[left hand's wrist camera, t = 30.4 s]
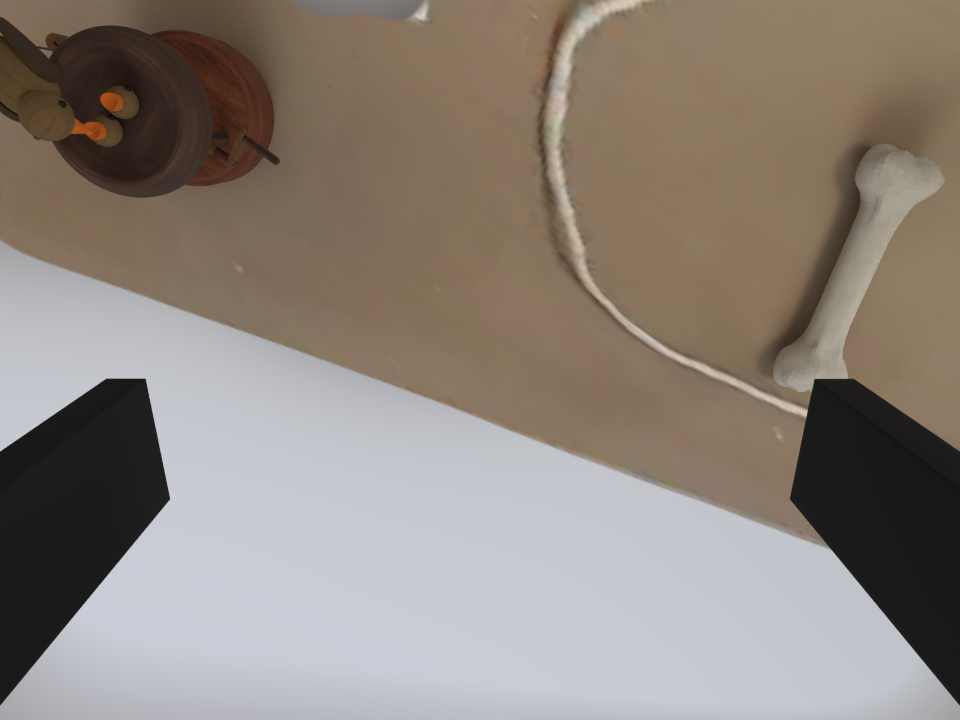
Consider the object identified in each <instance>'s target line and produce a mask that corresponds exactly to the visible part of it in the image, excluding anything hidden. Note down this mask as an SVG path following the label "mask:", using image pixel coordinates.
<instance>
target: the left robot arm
mask: <svg viewBox="0 0 960 720" xmlns="http://www.w3.org/2000/svg"><path fill="white" fill-rule="evenodd" d="M169 500H170V496H169V491H168V486H167V482H166V476H165V472H164V467H163V462H162V457H161V452H160V447H159V442H158V437H157V432H156V428H155V423H154V418H153V413H152V408H151V403H150V398H149V393H148V389H147V383H146V379H105V380H104V381H102V382H101V383H100V384H98V385H97V386H95V387H94V388H92V389H91V390H89V391H88V392H86V393H85V394H84V395H82V396H81V397H79V398H78V399H76V400H75V401H73V402H72V403H70V404H69V405H67V406H66V407H65V408H63V409H62V410H60V411H59V412H57V413H56V414H54V415H53V416H51V417H50V418H48V419H47V420H46V421H44V422H43V423H41V424H40V425H38V426H37V427H35V428H34V429H33V430H31V431H30V432H28V433H27V434H25V435H24V436H22V437H21V438H19V439H18V440H16V441H15V442H13V443H12V444H11V445H9V446H8V447H6V448H5V449H3V450H2V451H0V705H1V704H2V703H3V701H4V700H5V699H6V698H7V697H8V695H9V694H10V693H11V692H12V691H13V689H14V688H15V687H16V686H17V684H18V683H19V682H20V681H21V680H22V678H23V677H24V676H25V675H26V674H27V672H28V671H29V670H30V669H31V667H32V666H33V665H34V664H35V663H36V661H37V660H38V659H39V658H40V656H41V655H42V654H43V653H44V652H45V650H46V649H47V648H48V647H49V646H50V644H51V643H52V642H53V641H54V640H55V638H56V637H57V636H58V635H59V633H60V632H61V631H62V630H63V629H64V627H65V626H66V625H67V624H68V622H69V621H70V620H71V619H72V618H73V616H74V615H75V614H76V613H77V612H78V610H79V609H80V608H81V607H82V605H83V604H84V603H85V602H86V601H87V599H88V598H89V597H90V596H91V595H92V593H93V592H94V591H95V590H96V588H97V587H98V586H99V585H100V584H101V582H102V581H103V580H104V579H105V578H106V576H107V575H108V574H109V573H110V572H111V570H112V569H113V568H114V567H115V565H116V564H117V563H118V562H119V561H120V559H121V558H122V557H123V556H124V555H125V553H126V552H127V551H128V550H129V548H130V547H131V546H132V545H133V544H134V542H135V541H136V540H137V539H138V538H139V536H140V535H141V534H142V533H143V531H144V530H145V529H146V528H147V527H148V525H149V524H150V523H151V522H152V521H153V519H154V518H155V517H156V516H157V514H158V513H159V512H160V511H161V510H162V508H163V507H164V506H165V505H166V504H167V502H168V501H169ZM790 500H791V501H792V502H793V504H794V505H795V506H796V507H797V508H798V510H799V511H800V512H801V513H802V514H803V516H804V517H805V518H806V519H807V521H808V522H809V523H810V524H811V525H812V527H813V528H814V529H815V530H816V531H817V533H818V534H819V535H820V536H821V538H822V539H823V540H824V541H825V542H826V544H827V545H828V546H829V547H830V548H831V550H832V551H833V552H834V553H835V554H836V556H837V557H838V558H839V559H840V561H841V562H842V563H843V564H844V565H845V567H846V568H847V569H848V570H849V572H850V573H851V574H852V575H853V576H854V578H855V579H856V580H857V581H858V582H859V584H860V585H861V586H862V587H863V589H864V590H865V591H866V592H867V593H868V594H869V596H870V597H871V598H872V599H873V601H874V602H875V603H876V604H877V605H878V607H879V608H880V609H881V610H882V612H883V613H884V614H885V615H886V616H887V618H888V619H889V620H890V621H891V623H892V624H893V625H894V626H895V627H896V629H897V630H898V631H899V632H900V633H901V635H902V636H903V637H904V638H905V639H906V641H907V642H908V643H909V644H910V646H911V647H912V648H913V649H914V650H915V652H916V653H917V654H918V655H919V656H920V658H921V659H922V660H923V661H924V663H925V664H926V665H927V666H928V667H929V669H930V670H931V671H932V672H933V674H934V675H935V676H936V677H937V678H938V680H939V681H940V682H941V683H942V684H943V686H944V687H945V688H946V689H947V691H948V692H949V693H950V694H951V695H952V697H953V698H954V699H955V700H956V701H957V703H958V704H959V705H960V451H958V450H957V449H955V448H954V447H952V446H951V445H949V444H948V443H947V442H945V441H944V440H942V439H941V438H939V437H938V436H936V435H935V434H933V433H932V432H930V431H929V430H928V429H926V428H925V427H923V426H922V425H920V424H919V423H917V422H916V421H914V420H913V419H912V418H910V417H909V416H907V415H906V414H904V413H903V412H901V411H900V410H898V409H897V408H895V407H894V406H893V405H891V404H890V403H888V402H887V401H885V400H884V399H882V398H881V397H879V396H878V395H877V394H875V393H874V392H872V391H871V390H869V389H868V388H866V387H865V386H863V385H862V384H860V383H859V382H858V381H856V380H855V379H814V383H813V388H812V393H811V398H810V403H809V408H808V413H807V418H806V423H805V428H804V432H803V437H802V442H801V447H800V452H799V457H798V462H797V467H796V472H795V476H794V481H793V486H792V491H791V496H790Z"/></svg>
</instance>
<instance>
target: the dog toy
mask: <svg viewBox="0 0 960 720" xmlns="http://www.w3.org/2000/svg"><path fill="white" fill-rule="evenodd" d="M944 181H945V179H944V176H943V174H942V171H941V168H940V167H939V165H938V164H937V162H936V161H935V160H933V159H932V158H931V157H929V156H925V155H922V156H919V157H915V156H913V155H912V154H911V153H910V152H909V151H907V150H899V149H898V148H896V147H895V146H893V145H890V144H878V145H875V146H873V147H871V148H870V149H869V150H868V151H867V152H866V154H865V155H864V156H863V158H862V160H861V161H860V163H859V165H858V168H857V170H856V173H855V183H856V185H857V187H858V189H859V192H860V207H859V210H858V213H857V216H856V218H855V221H854V223H853V225H852V228H851V230H850V232H849V235H848V237H847V239H846V242H845V244H844V246H843V248H842V251H841V253H840V255H839V258H838V260H837V262H836V264H835V267H834V269H833V271H832V274H831V276H830V278H829V280H828V283H827V285H826V287H825V289H824V292H823V294H822V296H821V299H820V301H819V303H818V305H817V308H816V310H815V312H814V314H813V317H812V319H811V321H810V323H809V325H808V327H807V329H806V331H805V332H804V333H803V335H802V336H800V337H799V338H798V339H797V340H796V341H795V342H794V343H792V344H790V345H788V346H786V347H784V348H783V349H782V350H781V351H780V352H779V353H778V355H777V357H776V359H775V362H774V366H773V377H774V379H775V381H776V382H777V383H778V384H779V385H781V386H784V387H791V388H793V389H795V390H796V391H798V392H803V391H807V390H810V392H812V388H813V383H814V379H848V374H847V370H846V366H845V363H844V361H843V358H842V353H843V347H844V343H845V339H846V336H847V333H848V330H849V328H850V325H851V323H852V320H853V318H854V316H855V314H856V312H857V310H858V307H859V305H860V303H861V301H862V299H863V297H864V294H865V292H866V290H867V288H868V286H869V284H870V282H871V279H872V277H873V275H874V273H875V271H876V269H877V266H878V264H879V262H880V260H881V258H882V256H883V254H884V251H885V249H886V247H887V245H888V243H889V241H890V239H891V237H892V236H893V234H894V232H895V230H896V229H897V227H898V225H899V224H900V223H901V221H902V220H903V218H904V217H905V216H906V214H907V213H908V212H909V211H910V209H911V208H912V207H913V206H914V205H915V204H917V203H918V202H920V201H922V200H924V199H926V198H927V197H929V196H931V195H932V194H934V193H935V192H937V191H938V189H939V188H940V187H942V185H943V183H944Z"/></svg>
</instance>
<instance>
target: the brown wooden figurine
mask: <svg viewBox="0 0 960 720" xmlns="http://www.w3.org/2000/svg"><path fill="white" fill-rule="evenodd" d="M0 32H1V33H2V35H3V36H4V37H3V36H1V35H0V112H1V113H2V114H4V115H5V116H7V117H8V118H10V119H12V120H14V121H17V122H20V123H21V124H22V125H23V127H24V128H25V129H26V130H27V131H28V132H29V133H30V134H32V135H33V137H34V138H35V139H37V140H40V139H42V140H46V141H52V142H53V144H54V145H55V147H56V148H57V150H58V151H59V153H60V154H61V155H62V157H63V158H64V159H65V160H66V162H67V163H68V164H69V165H70V166H71V167H72V168H73V169H74V170H75V171H77V172H78V173H79V174H80V175H81V176H83V177H84V178H85V179H87V180H88V181H90V182H92V183H93V184H95V185H97V186H99V187H101V188H103V189H105V190H107V191H110V192H113V193H116V194H120V195H124V196H129V197H155V196H160V195H164V194H167V193H170V192H172V191H174V190H176V189H178V188H180V187H182V186H183V185H191V186H208V185H213V184H218V183H222V182H226V181H230V180H234V179H237V178H239V177H241V176H243V175H245V174H246V173H248V172H249V171H251V170H252V169H253V168H254V167H255V166H256V165H257V164H258V163H259V162H260V161H261V159H262V158H263V156H264V157H265V158H266V159H268V160H269V161H270V162H272V163H273V164H275V165H277V164H279V162H280V160H279V158H277V157H276V156H275V155H273V154H272V153H271V152H269V151H268V150H267V149H268V146H269V144H270V141H271V137H272V132H273V108H272V103H271V99H270V96H269V93H268V90H267V88H266V85H265V83H264V81H263V79H262V78H261V76H260V74H259V73H258V72H257V70H256V69H255V67H254V66H253V65H252V64H251V63H250V62H249V61H248V60H247V59H246V58H245V57H244V56H243V55H242V54H241V53H240V52H238V51H237V50H235V49H234V48H232V47H231V46H229V45H227V44H225V43H223V42H221V41H219V40H216V39H213V38H209V37H206V36H203V35H200V34H197V33H193V32H189V31H182V30H169V31H162V32H158V33H155V34H152V35H149V34H147V33H144V32H142V31H139V30H136V29H132V28H128V27H122V26H98V27H93V28H89V29H85V30H83V31H80V32H78V33H76V34H74V35H72V36H71V37H67V36H63V35H59V34H54V33H51V34H49V35H47V37H46V44H47V46H48V48H46V47H40V46H35V45H34V44H33V43H32V42H31V41H30V40H29V39H28V38H27V37H26V36H24V35H23V34H22V33H21V32H20V31H19V30H18V29H16V28H15V27H14V26H13V25H12V24H10V23H9V22H8V21H7V20H5V19H4V18H2V17H0ZM39 49H44V50H50V51H52V52H53V54H52V55H51V57H50V58H49V59H48V58H47V57H46V56H45V55H44V53H43V52H42V51H41V50H39Z"/></svg>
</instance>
